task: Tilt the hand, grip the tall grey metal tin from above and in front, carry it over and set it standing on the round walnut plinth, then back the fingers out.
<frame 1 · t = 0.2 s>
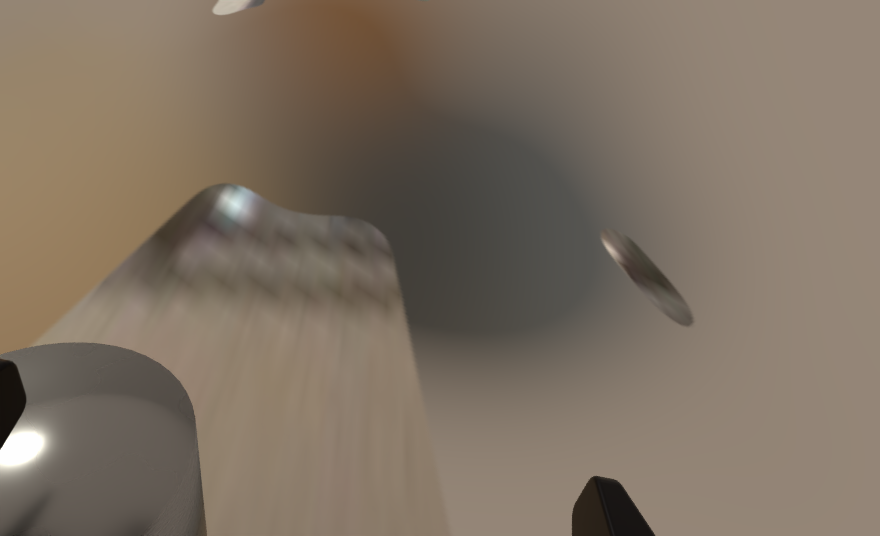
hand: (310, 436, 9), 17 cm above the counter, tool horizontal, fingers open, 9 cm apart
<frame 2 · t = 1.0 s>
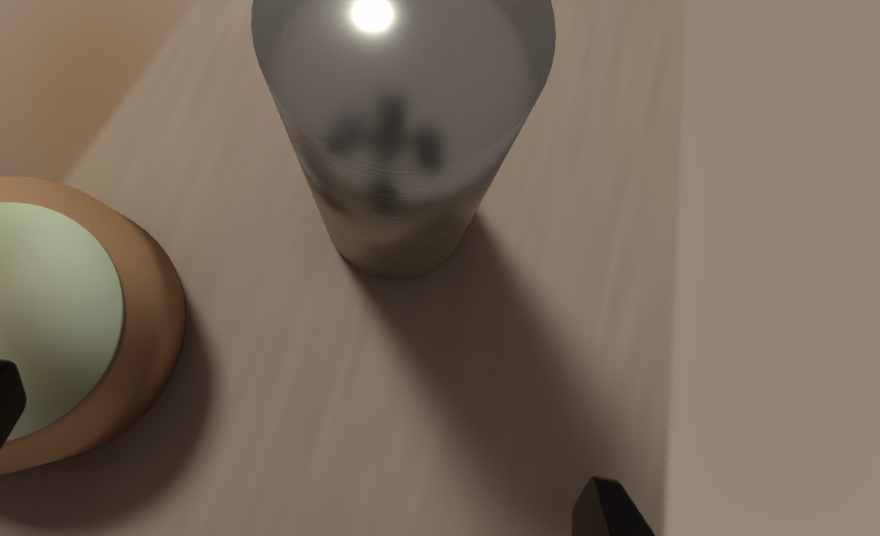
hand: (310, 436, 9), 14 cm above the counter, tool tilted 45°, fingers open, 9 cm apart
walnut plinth: (50, 326, 22), on the counter
grey tin: (396, 209, 24), on the counter
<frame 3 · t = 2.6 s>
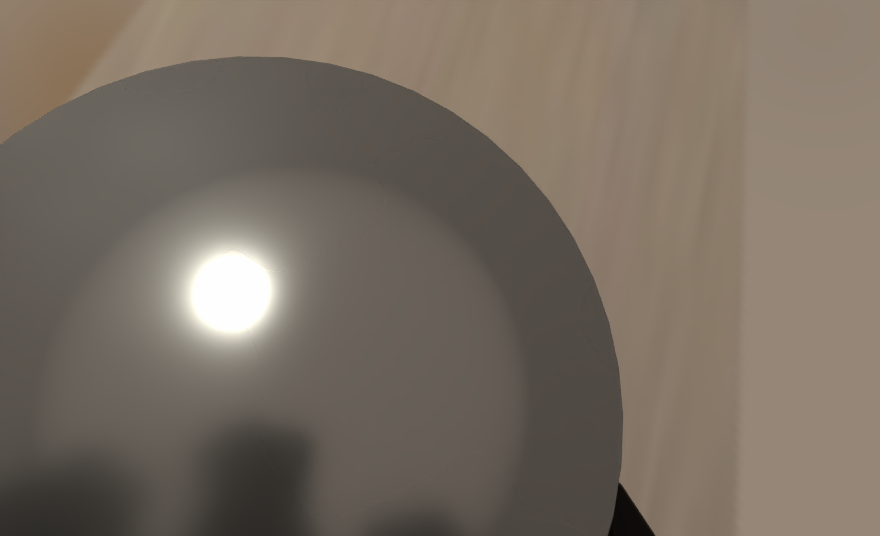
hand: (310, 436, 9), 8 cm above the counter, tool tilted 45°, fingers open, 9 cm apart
grey tin: (352, 380, 17), on the counter
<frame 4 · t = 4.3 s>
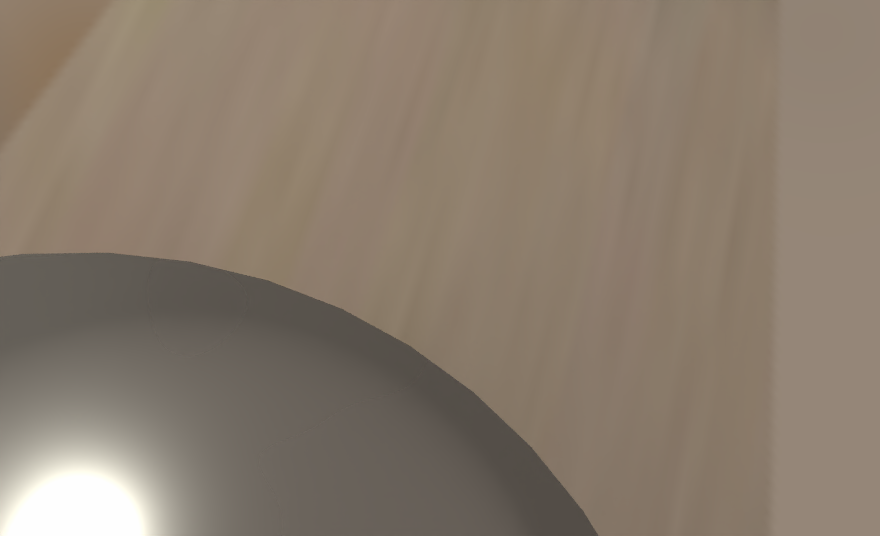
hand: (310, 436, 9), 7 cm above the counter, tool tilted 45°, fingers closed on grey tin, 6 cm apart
grey tin: (331, 459, 15), on the counter, touching gripper
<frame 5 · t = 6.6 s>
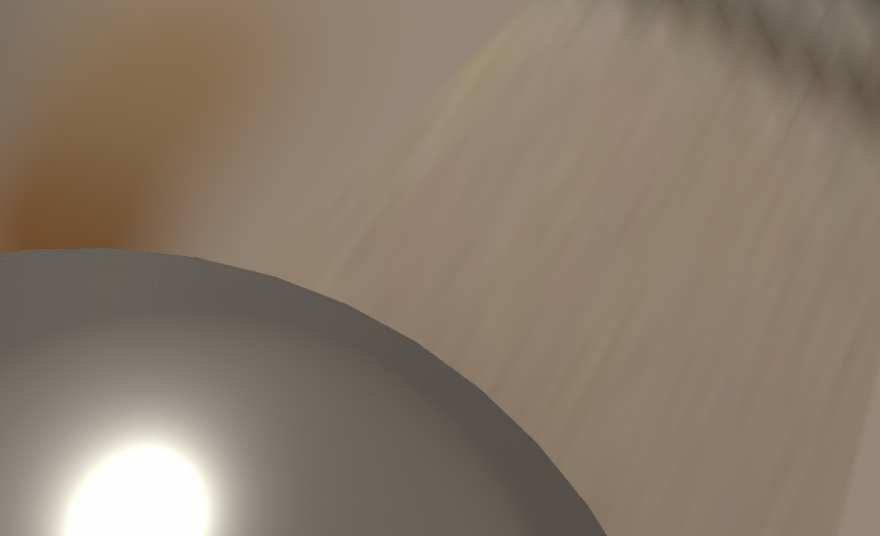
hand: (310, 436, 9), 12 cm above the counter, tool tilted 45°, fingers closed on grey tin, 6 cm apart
grey tin: (332, 458, 15), point 6 cm above the counter, touching gripper
when the fingers open (11 cm above the counter, at t = 8.9 s): grey tin drops 1 cm, resting on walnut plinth.
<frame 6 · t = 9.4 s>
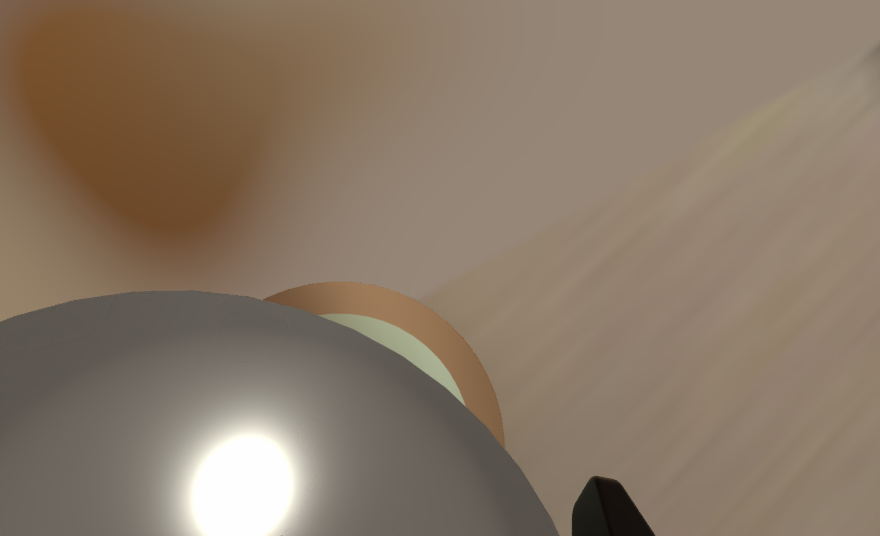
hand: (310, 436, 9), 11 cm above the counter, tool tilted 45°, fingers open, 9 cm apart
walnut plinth: (344, 437, 19), on the counter
grey tin: (335, 453, 16), point 3 cm above the counter, touching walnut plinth
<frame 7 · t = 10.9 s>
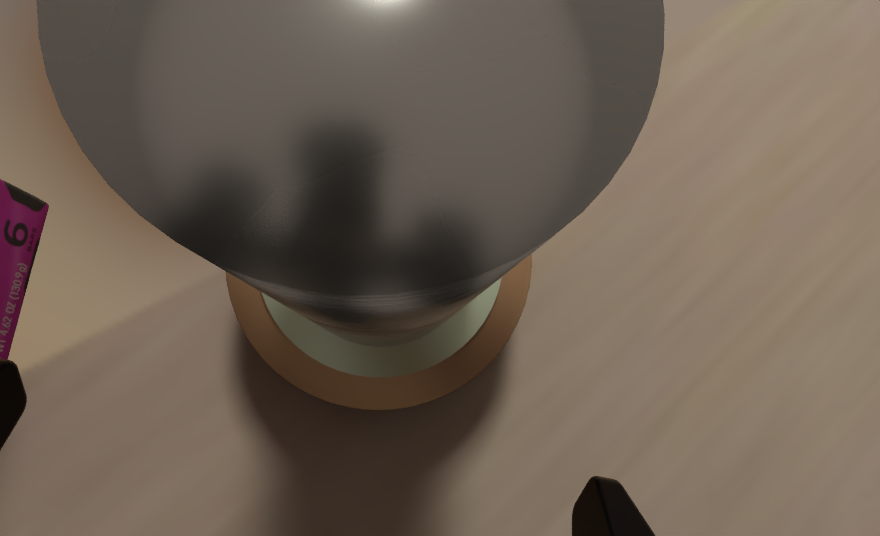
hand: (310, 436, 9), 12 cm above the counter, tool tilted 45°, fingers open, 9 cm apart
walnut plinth: (383, 269, 21), on the counter
grey tin: (382, 253, 18), point 3 cm above the counter, touching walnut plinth
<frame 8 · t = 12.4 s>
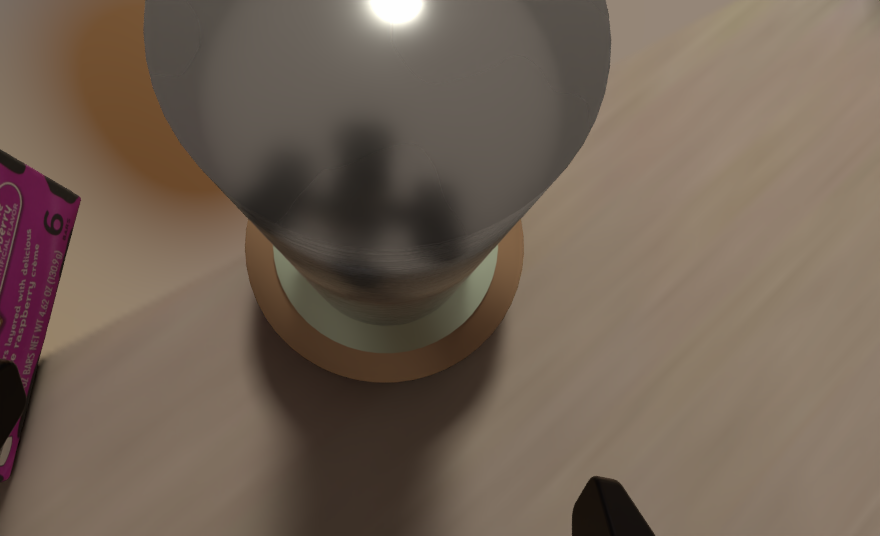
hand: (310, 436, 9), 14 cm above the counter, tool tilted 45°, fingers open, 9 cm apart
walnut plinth: (387, 257, 23), on the counter
grey tin: (387, 241, 20), point 3 cm above the counter, touching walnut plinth
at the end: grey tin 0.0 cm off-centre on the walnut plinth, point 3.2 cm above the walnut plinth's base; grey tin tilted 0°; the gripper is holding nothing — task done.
